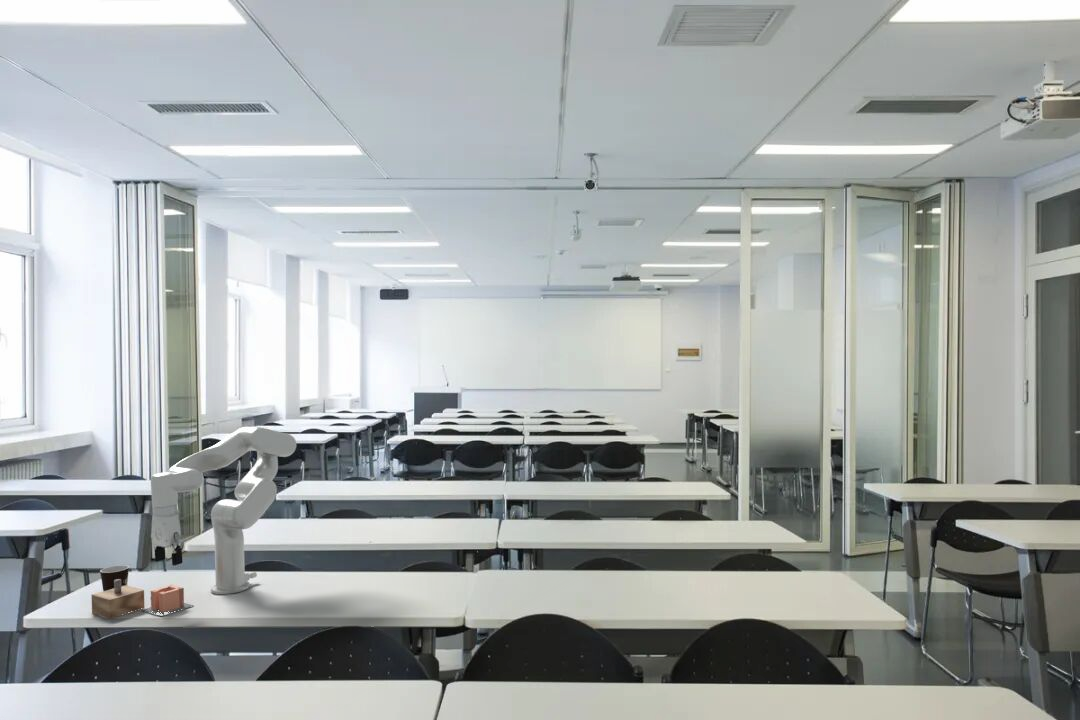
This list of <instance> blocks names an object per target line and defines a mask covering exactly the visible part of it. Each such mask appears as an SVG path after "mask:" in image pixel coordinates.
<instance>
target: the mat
mask: <svg viewBox="0 0 1080 720" xmlns="http://www.w3.org/2000/svg"><path fill="white" fill-rule="evenodd" d="M191 606H193V607H194V604H190V603H186V602H184V606H183V607H180V608H177V609H174V610H171V611H169V612H170V613H171V612H174V611H178V610H181V609H184V610H186V609H185V608H187V609H189V608H188V607H191ZM191 608H192V607H191ZM158 610H159V609H158ZM158 610H152V609H151V606H150V607H148V608H144V609H141V612H143V611H146V612H150V613H151V612H152V611H153V612H152V613H153V614H154V613H155V614H156V613H157V612H159V611H158ZM181 611H182V610H181ZM146 612H145V613H146ZM167 612H168V611H167ZM169 612H168V613H169ZM178 612H179V611H178ZM159 613H160V612H159ZM161 613H162V614H163V615H164V613H163V612H161ZM161 613H160V614H161ZM153 614H152V615H153Z"/></svg>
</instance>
